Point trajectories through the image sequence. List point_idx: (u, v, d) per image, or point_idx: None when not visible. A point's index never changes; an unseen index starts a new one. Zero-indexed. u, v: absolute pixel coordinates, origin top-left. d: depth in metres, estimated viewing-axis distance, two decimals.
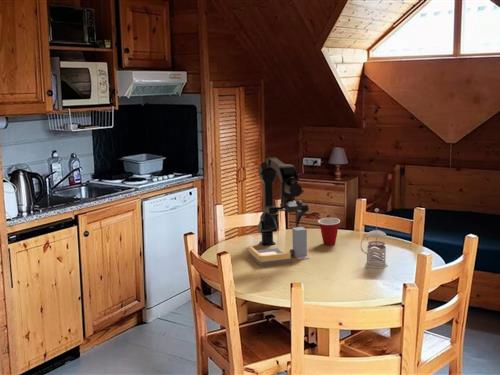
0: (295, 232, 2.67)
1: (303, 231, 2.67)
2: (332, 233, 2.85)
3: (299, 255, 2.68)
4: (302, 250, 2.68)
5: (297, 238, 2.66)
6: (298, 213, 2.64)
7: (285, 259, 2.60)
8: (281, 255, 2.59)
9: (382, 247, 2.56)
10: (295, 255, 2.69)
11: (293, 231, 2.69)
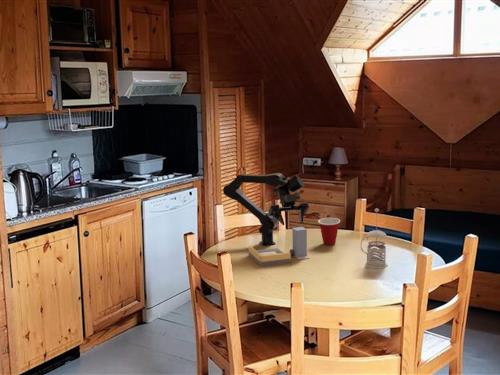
0: (295, 232, 2.67)
1: (303, 231, 2.67)
2: (332, 233, 2.85)
3: (299, 255, 2.68)
4: (302, 250, 2.68)
5: (297, 238, 2.66)
6: (300, 211, 2.79)
7: (285, 259, 2.60)
8: (281, 255, 2.59)
9: (382, 247, 2.56)
10: (295, 255, 2.69)
11: (293, 231, 2.69)
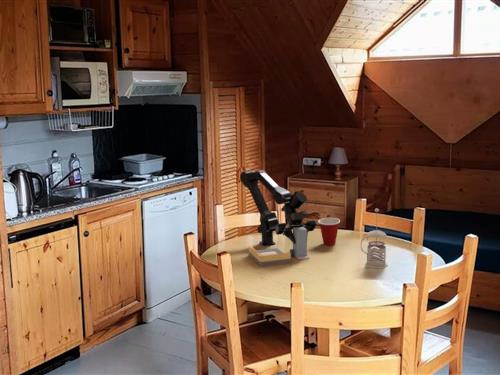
0: (295, 232, 2.67)
1: (303, 231, 2.67)
2: (332, 233, 2.85)
3: (299, 255, 2.68)
4: (302, 250, 2.68)
5: (298, 237, 2.66)
6: None
7: (285, 259, 2.60)
8: (281, 255, 2.59)
9: (382, 247, 2.56)
10: (295, 255, 2.69)
11: (293, 231, 2.69)
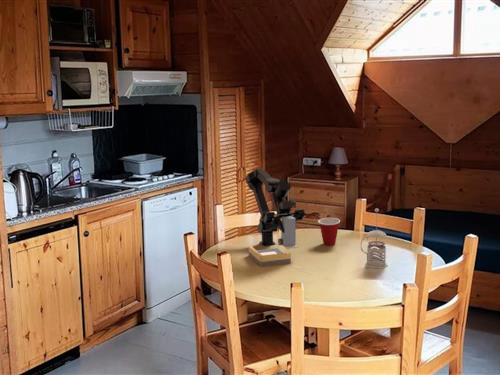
0: (284, 221, 2.64)
1: (292, 220, 2.64)
2: (332, 233, 2.85)
3: (288, 244, 2.65)
4: (291, 240, 2.66)
5: (286, 227, 2.64)
6: None
7: (285, 259, 2.60)
8: (281, 255, 2.59)
9: (382, 247, 2.56)
10: (284, 244, 2.67)
11: (282, 220, 2.67)
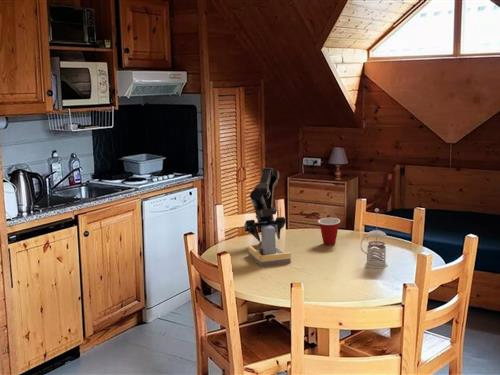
0: (263, 231, 2.62)
1: (271, 230, 2.62)
2: (332, 233, 2.85)
3: (268, 254, 2.63)
4: (271, 249, 2.63)
5: (266, 236, 2.62)
6: (277, 226, 2.68)
7: (285, 259, 2.60)
8: (281, 255, 2.59)
9: (382, 247, 2.56)
10: (264, 254, 2.65)
11: (262, 230, 2.65)
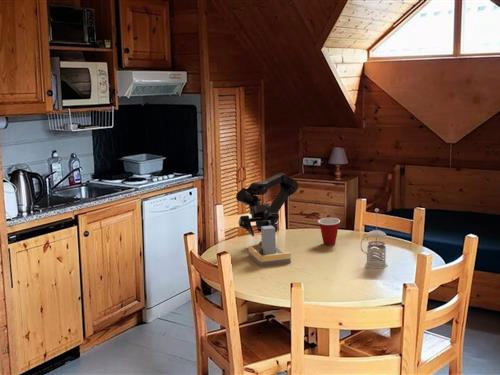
0: (263, 231, 2.62)
1: (271, 230, 2.62)
2: (332, 233, 2.85)
3: (268, 254, 2.63)
4: (271, 249, 2.63)
5: (266, 236, 2.62)
6: (270, 221, 2.77)
7: (285, 259, 2.60)
8: (281, 255, 2.59)
9: (382, 247, 2.56)
10: (264, 254, 2.65)
11: (262, 230, 2.65)
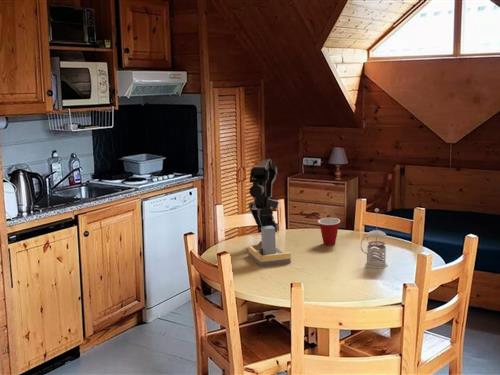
0: (263, 231, 2.62)
1: (271, 230, 2.62)
2: (332, 233, 2.85)
3: (268, 254, 2.63)
4: (271, 249, 2.63)
5: (266, 236, 2.62)
6: None
7: (285, 259, 2.60)
8: (281, 255, 2.59)
9: (382, 247, 2.56)
10: (264, 254, 2.65)
11: (262, 230, 2.65)
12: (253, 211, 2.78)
